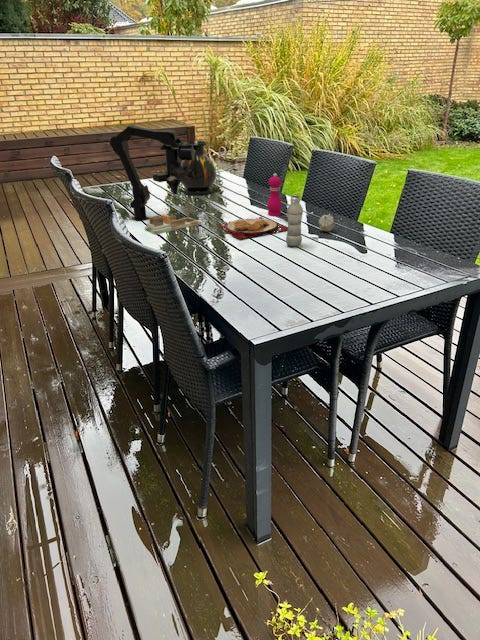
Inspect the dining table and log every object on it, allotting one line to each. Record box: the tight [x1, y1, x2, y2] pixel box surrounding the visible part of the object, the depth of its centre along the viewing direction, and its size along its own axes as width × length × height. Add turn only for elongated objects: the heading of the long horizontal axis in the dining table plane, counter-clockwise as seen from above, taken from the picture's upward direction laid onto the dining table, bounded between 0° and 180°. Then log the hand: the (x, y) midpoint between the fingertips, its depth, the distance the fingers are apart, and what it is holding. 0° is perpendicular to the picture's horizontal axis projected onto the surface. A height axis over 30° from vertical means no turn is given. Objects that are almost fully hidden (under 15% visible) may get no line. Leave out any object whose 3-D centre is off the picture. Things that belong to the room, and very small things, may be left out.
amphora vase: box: [180, 140, 217, 196], centre depth 279 cm, size 22×22×28 cm
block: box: [148, 214, 163, 227], centre depth 218 cm, size 4×4×4 cm
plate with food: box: [217, 216, 288, 240], centre depth 221 cm, size 25×26×4 cm
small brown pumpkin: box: [315, 212, 338, 233], centre depth 213 cm, size 9×8×10 cm
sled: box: [146, 213, 171, 230], centre depth 219 cm, size 6×9×4 cm, turn 129°
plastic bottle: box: [285, 195, 304, 247], centre depth 195 cm, size 6×7×20 cm
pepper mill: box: [266, 173, 283, 217], centre depth 237 cm, size 7×7×20 cm
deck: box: [144, 214, 201, 235], centre depth 224 cm, size 9×24×4 cm, turn 129°
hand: (174, 194), depth 229 cm, fingers closed
